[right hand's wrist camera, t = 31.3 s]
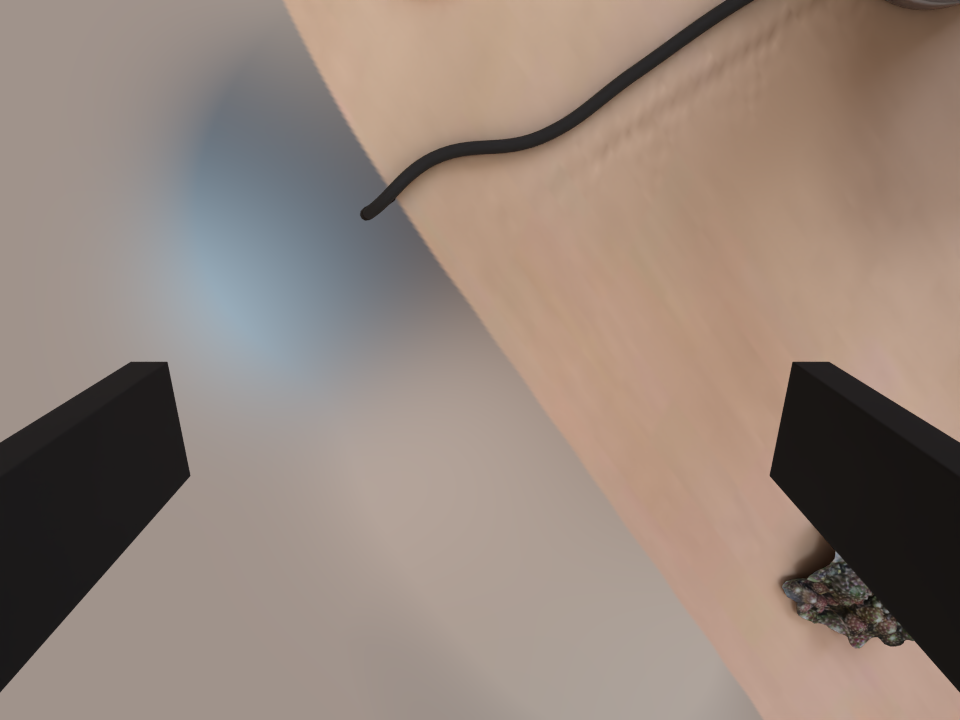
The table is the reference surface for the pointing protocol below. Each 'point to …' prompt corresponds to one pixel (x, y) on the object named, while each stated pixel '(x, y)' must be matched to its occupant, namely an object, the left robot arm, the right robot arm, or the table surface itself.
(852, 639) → the coral
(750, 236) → the table surface
